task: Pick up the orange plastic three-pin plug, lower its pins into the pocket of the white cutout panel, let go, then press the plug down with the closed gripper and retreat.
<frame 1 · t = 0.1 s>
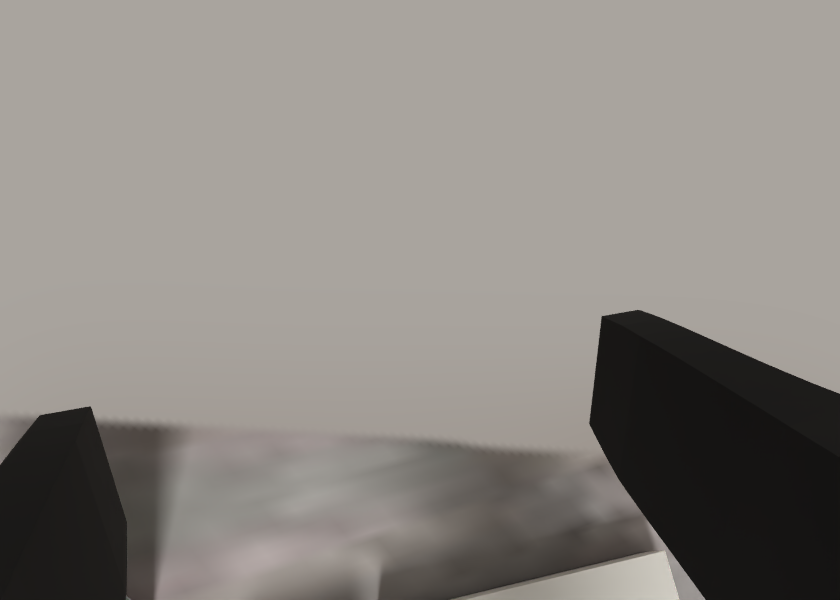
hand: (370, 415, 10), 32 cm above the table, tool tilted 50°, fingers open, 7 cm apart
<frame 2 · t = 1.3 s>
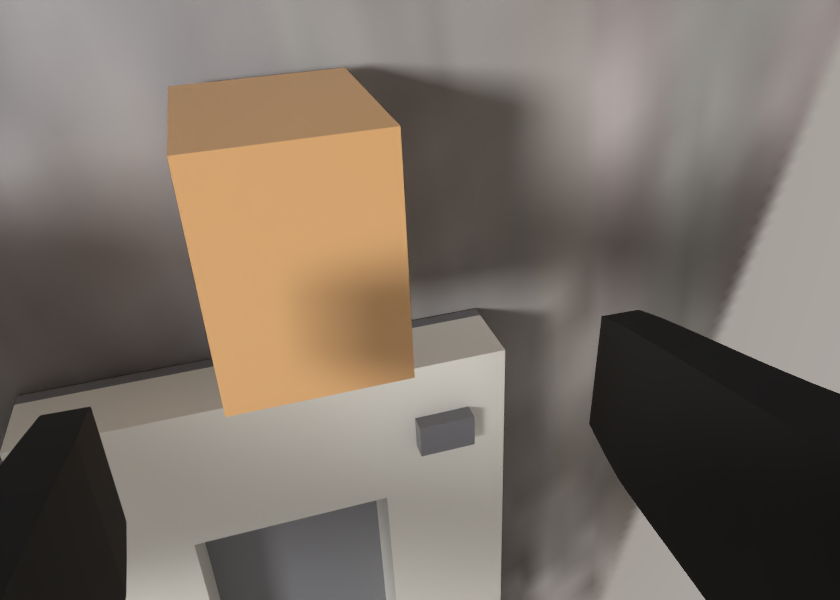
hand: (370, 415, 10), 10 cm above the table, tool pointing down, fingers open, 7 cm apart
white cutout panel: (297, 544, 25), on the table
plug: (272, 179, 19), on the table
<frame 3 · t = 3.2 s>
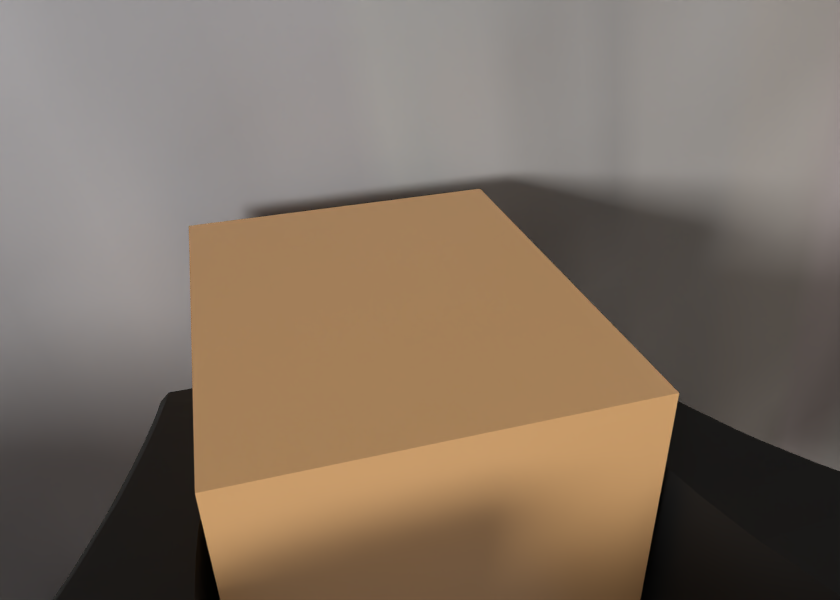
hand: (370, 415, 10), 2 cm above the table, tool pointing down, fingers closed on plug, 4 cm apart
plug: (345, 344, 12), on the table, touching gripper
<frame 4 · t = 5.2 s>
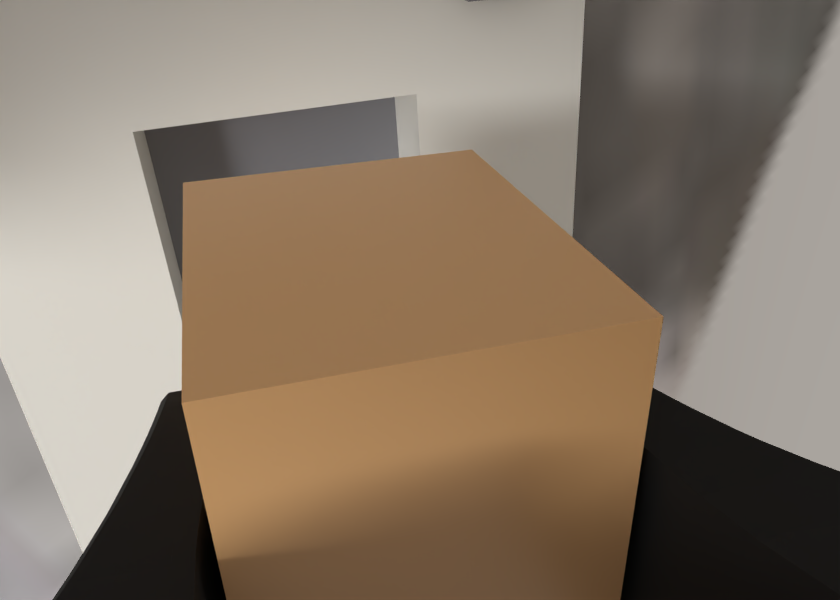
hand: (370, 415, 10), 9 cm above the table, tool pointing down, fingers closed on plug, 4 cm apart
white cutout panel: (290, 227, 18), on the table
plug: (339, 311, 12), point 7 cm above the table, touching gripper
when the fingers open (4 cm above the table, at t = 7.5 s): plug drops 1 cm, resting on white cutout panel.
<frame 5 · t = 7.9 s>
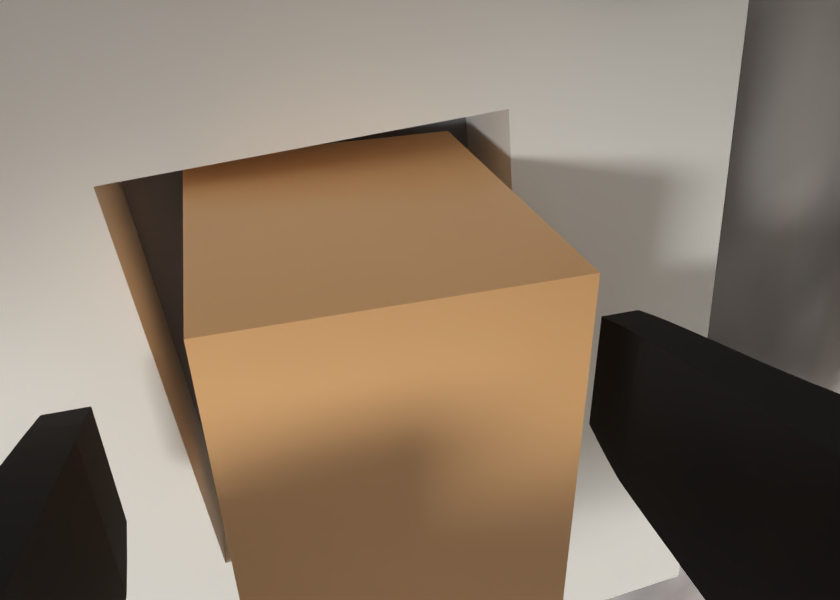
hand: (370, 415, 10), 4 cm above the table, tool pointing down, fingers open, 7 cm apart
white cutout panel: (326, 291, 14), on the table
plug: (327, 281, 13), resting on white cutout panel
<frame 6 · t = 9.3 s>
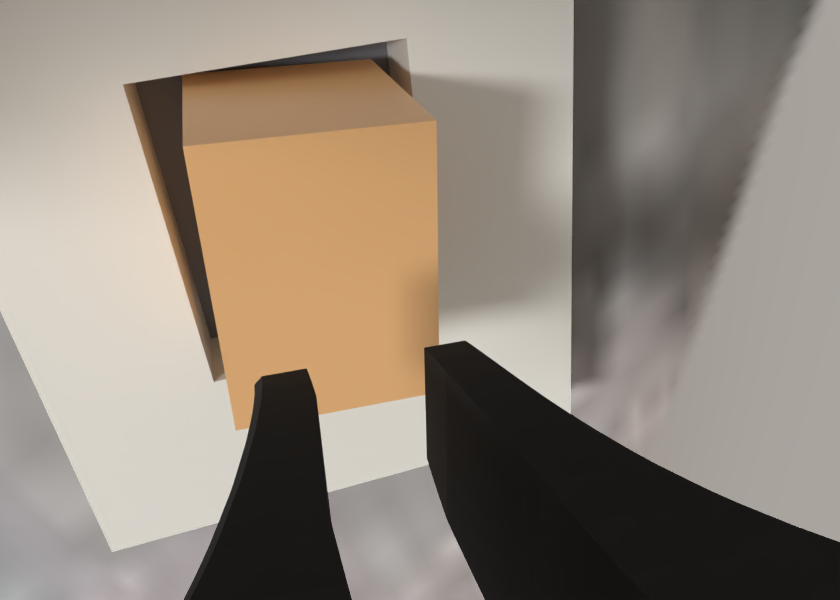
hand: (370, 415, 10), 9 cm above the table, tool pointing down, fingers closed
white cutout panel: (289, 186, 18), on the table
plug: (288, 176, 18), resting on white cutout panel
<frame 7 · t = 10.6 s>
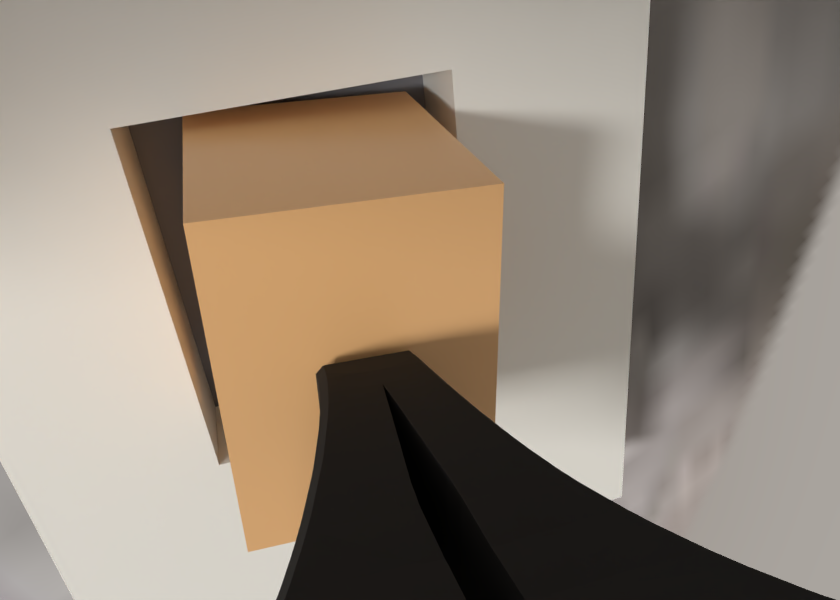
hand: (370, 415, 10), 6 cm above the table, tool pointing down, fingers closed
white cutout panel: (306, 234, 16), on the table
plug: (306, 224, 15), resting on white cutout panel
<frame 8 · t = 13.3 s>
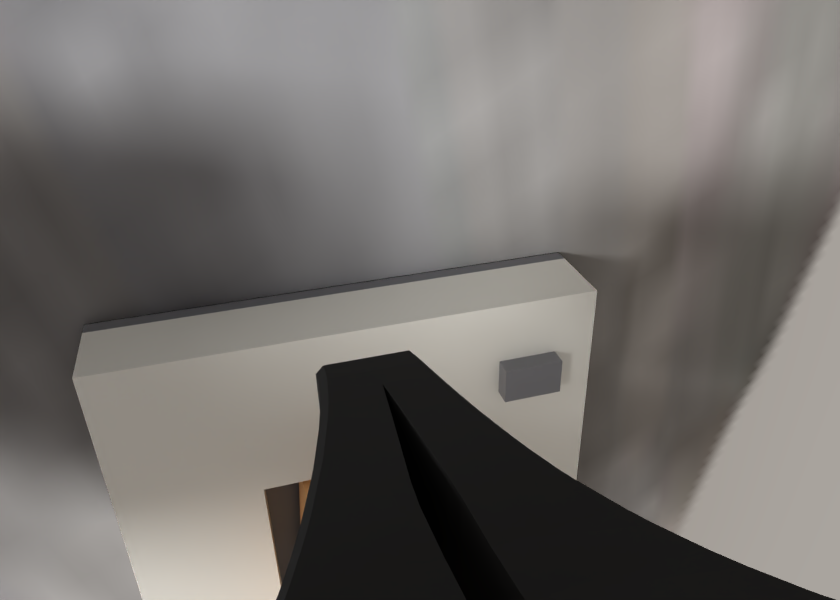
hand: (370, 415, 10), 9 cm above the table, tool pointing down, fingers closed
white cutout panel: (357, 501, 24), on the table
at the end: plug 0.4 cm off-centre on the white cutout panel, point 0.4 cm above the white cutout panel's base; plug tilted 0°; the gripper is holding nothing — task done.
